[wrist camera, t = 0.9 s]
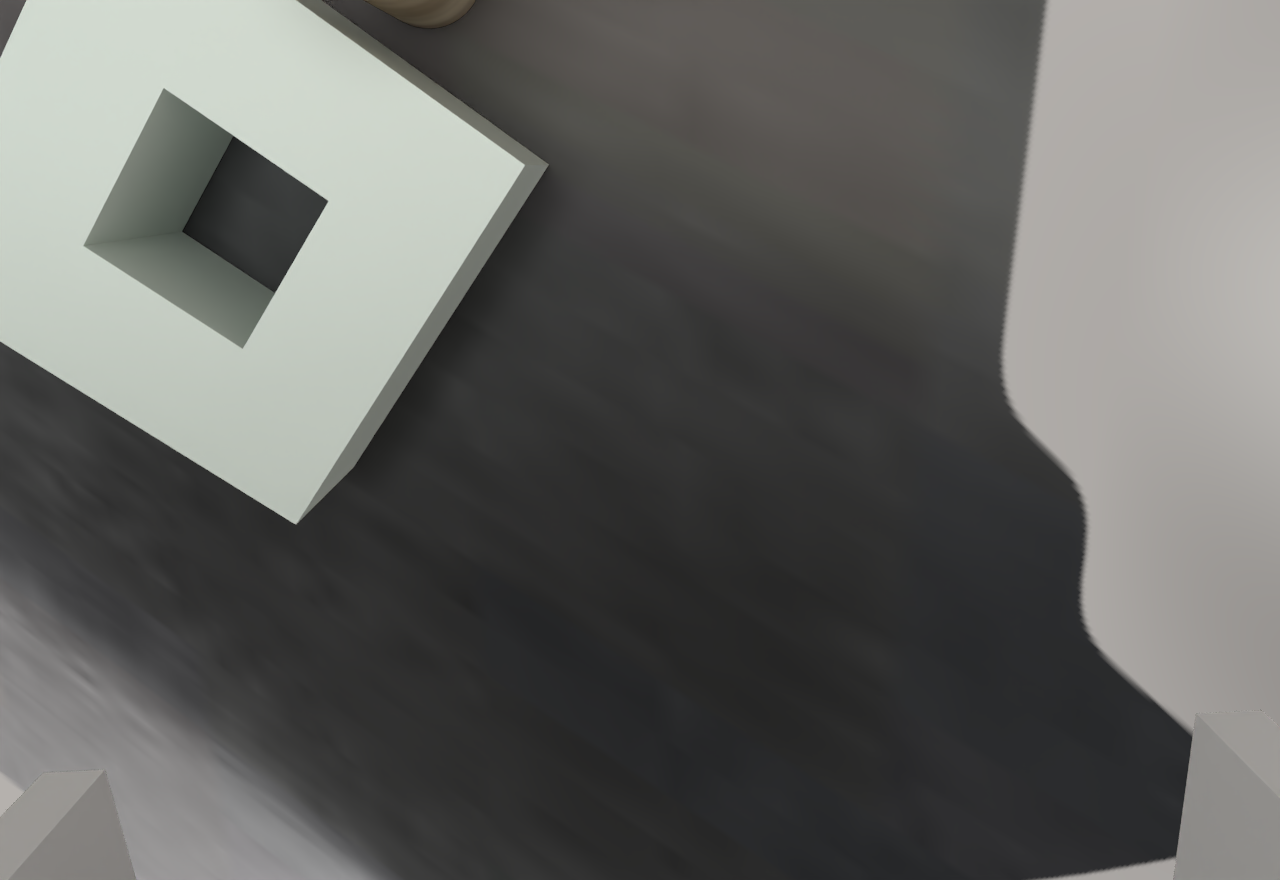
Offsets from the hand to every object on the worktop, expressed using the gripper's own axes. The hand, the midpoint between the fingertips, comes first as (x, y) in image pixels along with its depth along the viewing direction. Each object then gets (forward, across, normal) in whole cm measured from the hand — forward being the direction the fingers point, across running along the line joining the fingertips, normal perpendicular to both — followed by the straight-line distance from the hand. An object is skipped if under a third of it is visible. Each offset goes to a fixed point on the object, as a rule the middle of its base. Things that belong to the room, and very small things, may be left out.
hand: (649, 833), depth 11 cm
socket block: (+25, -13, +7) cm, 29 cm away
